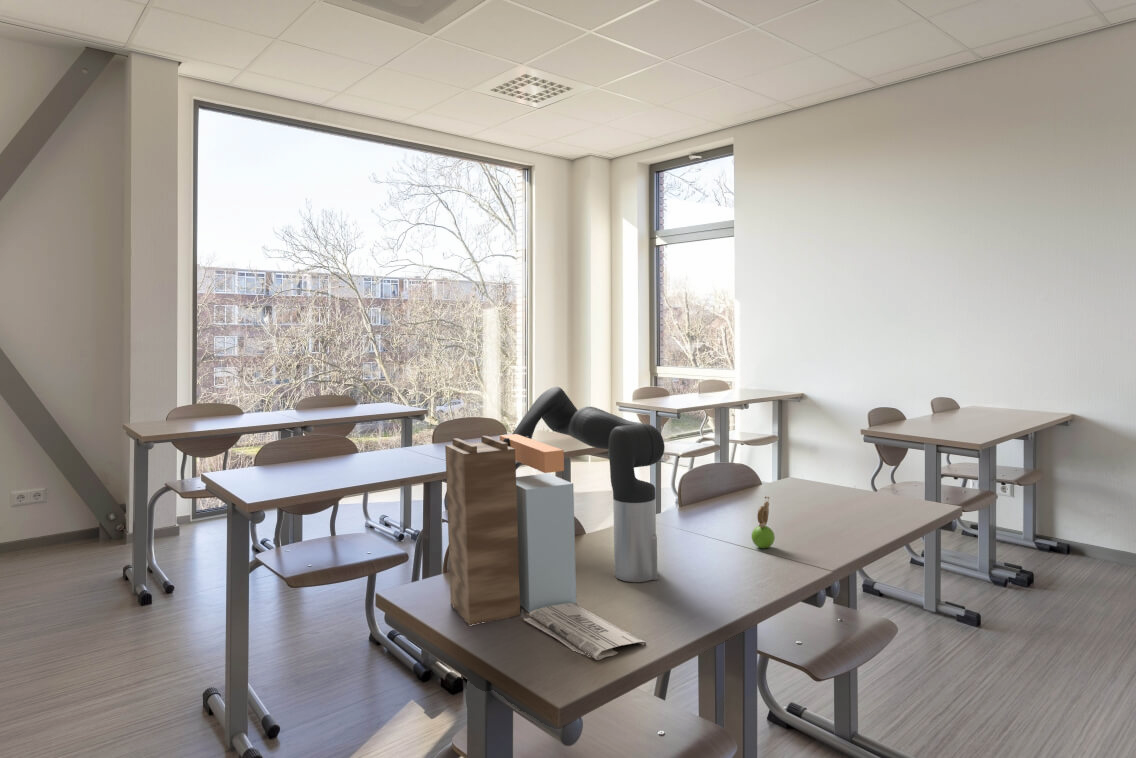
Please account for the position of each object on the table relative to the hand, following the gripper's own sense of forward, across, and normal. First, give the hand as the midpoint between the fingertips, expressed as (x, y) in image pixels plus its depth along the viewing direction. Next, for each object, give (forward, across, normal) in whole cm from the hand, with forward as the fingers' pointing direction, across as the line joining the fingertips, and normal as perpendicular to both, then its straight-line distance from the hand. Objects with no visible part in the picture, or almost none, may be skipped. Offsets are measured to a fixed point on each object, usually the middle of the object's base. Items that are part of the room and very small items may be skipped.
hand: (518, 441), depth 146 cm
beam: (+3, 0, +6) cm, 7 cm away
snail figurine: (-9, +61, +30) cm, 69 cm away
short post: (-7, 0, +32) cm, 32 cm away
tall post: (-7, -12, +32) cm, 34 cm away
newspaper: (+9, 0, +42) cm, 42 cm away
